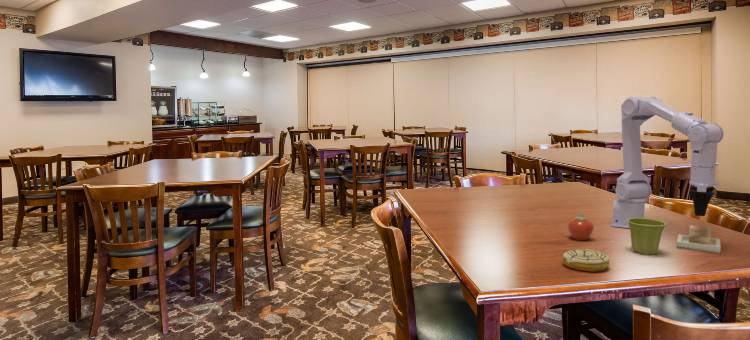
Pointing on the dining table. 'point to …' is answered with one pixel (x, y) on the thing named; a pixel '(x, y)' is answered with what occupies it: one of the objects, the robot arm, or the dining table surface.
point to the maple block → (700, 234)
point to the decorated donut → (586, 260)
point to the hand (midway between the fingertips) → (700, 213)
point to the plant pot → (645, 234)
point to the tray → (684, 244)
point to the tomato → (580, 228)
